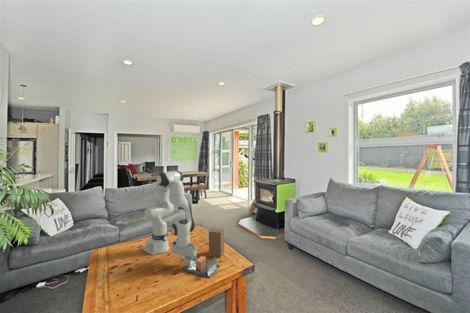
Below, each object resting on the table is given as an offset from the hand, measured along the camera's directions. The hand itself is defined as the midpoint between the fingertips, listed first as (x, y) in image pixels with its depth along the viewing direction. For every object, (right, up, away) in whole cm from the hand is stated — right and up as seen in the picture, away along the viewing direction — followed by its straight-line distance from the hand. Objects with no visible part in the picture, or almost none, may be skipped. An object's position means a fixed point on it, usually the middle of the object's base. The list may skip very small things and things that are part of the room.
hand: (184, 260), depth 152 cm
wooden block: (+23, -3, +15) cm, 27 cm away
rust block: (+14, -2, -6) cm, 15 cm away
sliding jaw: (+6, -1, -3) cm, 7 cm away
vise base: (+14, -3, -6) cm, 15 cm away
